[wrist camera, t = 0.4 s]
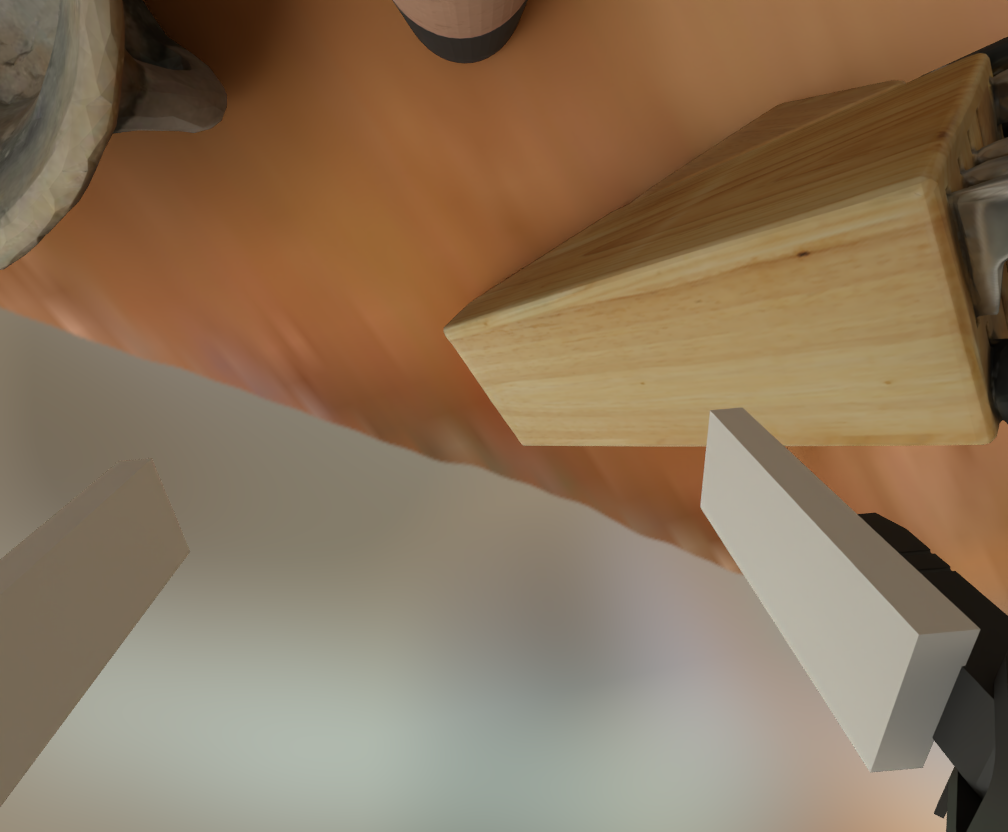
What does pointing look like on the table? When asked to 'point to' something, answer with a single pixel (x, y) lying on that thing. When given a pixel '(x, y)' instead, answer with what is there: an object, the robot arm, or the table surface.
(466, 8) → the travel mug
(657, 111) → the table surface
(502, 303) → the knife block
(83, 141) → the bowl
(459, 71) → the table surface
